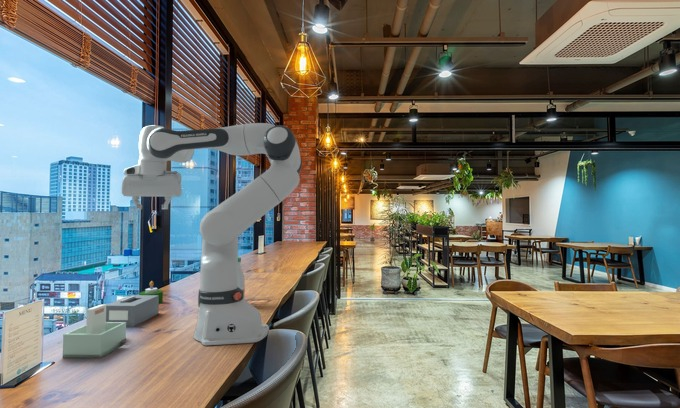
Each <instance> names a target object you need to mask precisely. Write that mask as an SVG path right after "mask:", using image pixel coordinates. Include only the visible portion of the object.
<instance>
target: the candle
mask: <svg viewBox="0 0 680 408" xmlns="http://www.w3.org/2000/svg"><path fill="white" fill-rule="evenodd" d="M154 283H155V282H154V281H153V280H151V281H150V282H149V287H148V288H145V289H144V290H143V291H141V292H139V295H159V305H163V303H164V302H163V298H164V297H163V296H164V291H163V290H162V289H158V287H154Z"/></svg>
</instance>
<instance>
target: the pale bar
mask: <svg viewBox="0 0 680 408" xmlns="http://www.w3.org/2000/svg"><path fill="white" fill-rule="evenodd" d="M106 305H107V303H105V304H98V305H96V306H92V307H90V308H87V309H86V324H85V325H86V334H101V333H103V332H105V331H106Z"/></svg>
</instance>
